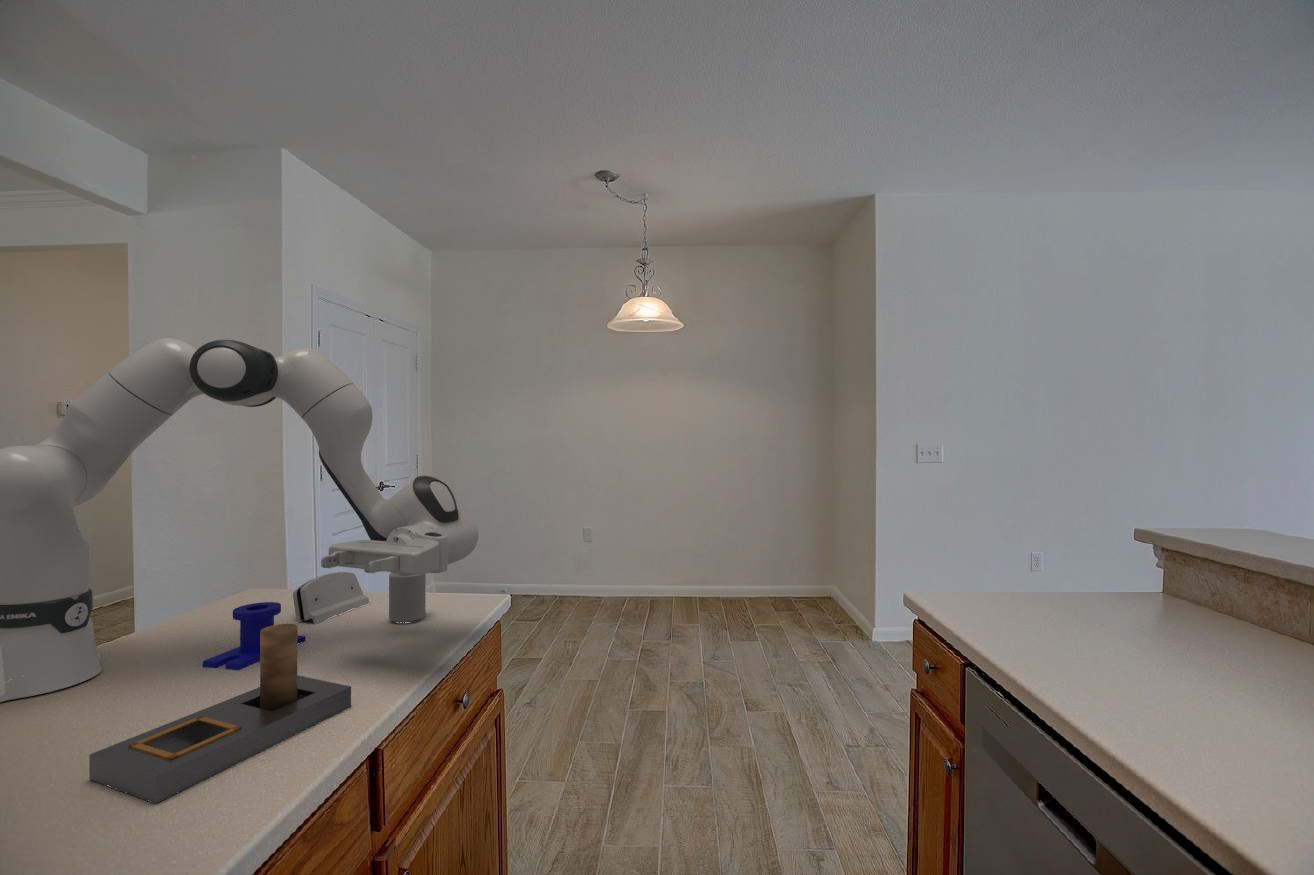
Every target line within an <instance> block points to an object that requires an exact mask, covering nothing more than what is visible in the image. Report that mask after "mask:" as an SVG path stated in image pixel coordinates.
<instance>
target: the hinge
mask: <svg viewBox="0 0 1314 875" xmlns="http://www.w3.org/2000/svg"><path fill="white" fill-rule="evenodd" d="M292 599H293V604H294V611H295V619H296V623H297V622H299V623H301V622H305V621H309V620H310V619H311V620H312V622H313V624H314V623H317V622H320V623H323V622H325V621H324V620H326V619H328V618H330V617H332V616H334V615H339V614H341V613H344V612H346V611H348V610H350V609H352V608H358V607H360V606H362V605H365V604H368V603H370V599H369V597H368V596H367V595H365V594H364V593H363V591H362V587H361V585H360V583H359V581H358V578H357V575H356V574H355V573H353V572H346V571H340V572H339V571H338V572H331V573H326V574H325V573H324V574H323V575H319V576H317V577H314V578H312V579H310V580H308V581H306V582H305V583H303V584H302V585H301V586H299V587H298V588H296V589H295V590H294V591H293V592H292ZM322 621H323V622H322ZM326 621H327V620H326Z"/></svg>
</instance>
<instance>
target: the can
mask: <svg viewBox="0 0 1314 875" xmlns="http://www.w3.org/2000/svg"><path fill="white" fill-rule="evenodd" d="M426 574H427V573H425V574H415V575H414V574H413V575H409V576H401V575H398V574H396V573H395V572H389V575H388V619H389V620H390V621H392V622H393V623H394V622H399V623H400V622H402V623H403V622H404V623H405V622H414V623H417V622H419V621H421V620H422V619H423V618H424V617H425V616H426V593H427V592H426V586H427V585H426V584H427V583H426V578H427V577H426ZM421 618H422V619H421ZM420 619H421V620H420ZM418 620H419V621H418ZM416 621H417V622H416Z"/></svg>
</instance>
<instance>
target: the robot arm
mask: <svg viewBox="0 0 1314 875" xmlns="http://www.w3.org/2000/svg"><path fill="white" fill-rule="evenodd" d="M200 395H205V396H207V397H209V398H211V399H214V400H216V401H219V402H221V403H225V404H227V405H231V406H238V407H240V406H242V407H246V408H247V407H248V408H257V407H261V406H265V405H268V404H269V403H271V402H273V401H275V399H277V398H278V399H281V400H282V401H284V402H285V403H286V404H287V405H288V406H290V407H291V408H292V409H293V410H294V411H295V412H296V414H297V415H298V416H299V417H300V418H301V419H302V420H303V421H304V422H305V424H307V426H308V428H309V430H310V431H311V433H312V434H313V436H314V438H315V441H316V444H317V446H318V456H319V460H320V461H321V464H322V465H323V467H324V469H325V471H326V472H327V474H328V475H329V477H330V478H331V479H332V481H333V482H334V484H335V485H336V487H337V488H338V490H339V491H340V493H341V494H342V495H343V497H344V499H346V501H347V503H349V505H350V506H351V508H352V510H353V511H354V512H355V514H356V515H357V517H358V518H359V520H360V521H361V524H362V526H363V528H364V530H365V532H366V535H367V536H368V538H369V539H359V540H351V541H350V540H349V541H345V542H339V543H338V542H337V543H334V544H331V545H329V547H328V554H327V555H326V556H322V557H321V559H320V567H321V568H324V569H332V568H336V567H341V568H350V569H352V568H353V569H360V570H361V569H362V570H363V571H364V573H369V574H375V573H379V572H388V573H391V572H395V573H396V574H398V575H401V576H409V575H413V574H414V575H415V574H425V573H426V574H440V573H444V572H447V571H448V565H451V564H453V563H456V562H459V561H460V560H463V559H465V558H467V557H468V556H470V554H472V553H473V551H474V550H475V548H476V546H477V544H478V540H479V529H478V526H477V524H475V522H474V521H473V520H472V519H471V518H469V517H467V516H466V515H464V514H463V513H462V512H461V511H460V510H459V509H458V505H457V501H456V498H455V496H454V494H453V491H452V490H451V488H450V487H449V486H448V484H446V483H445V482H443V481H442V480H440V479H438V478H437V477H434V476H430V475H429V476H428V475H420V476H419V475H418V476H416V477H415V478H414V479H413V480H411V481H409V483H407V484H406V485H404V486H403V487H402V488H401V489H400V490H399V491H398V492H396V493H395V494H394V495H392V496H391V497H390V498H388V499H387V498H384V497H383V495H382V494H381V492H380V491H379V489H378V488H377V486H376V485H375V483H374V482H373V480H372V479H371V477H370V476H369V475H368V474H367V472H366V470H365V469H364V466H363V463H362V451H363V447H364V445H365V442H366V440H367V439H368V436H369V433H370V432H371V429H372V425H373V424H372V423H373V408H372V406H371V404H370V402H369V400H368V399H367V397H366V396H365V394H364V393H363V392H362V391H361V390H360V389H359V388H358V386H356V385H355V384H354V382H353V381H352V380H351V379H350V378H349V376H347V375H346V374H345V373H344V372H343V371H342V370H341V369H340V368H339V367H338V366H337V365H335V363H334V362H332V361H331V360H330V359H329V358H327V356H325V355H323V354H322V353H321V352H320V351H318V350H316V349H314V348H310V347H300V348H299V347H298V348H295V349H291V350H290V351H289V350H288V352H286V353H284V354H282V355H281V356H278V357H277V356H275V357H274V355H273V354H272V353H271V352H269V351H267V350H264V349H261V348H259V347H256V346H253V345H251V344H248V343H245V342H242V341H238V340H234V339H233V340H232V339H217V340H212V341H209V342H207V343H205V344H202V345H201V346H200V347H199V348H196V347H195V346H194V345H191V343H190V344H189V343H188V342H185V341H183V340H181V339H177V338H173V337H162V338H158V339H156V340H153V341H152V342H149V343H148V344H146V345H144V346H143V347H141V348H139V349H138V350H136V351H134V352H133V353H131V354H129V355H128V356H127V357H125V358H124V359H122V360H121V361H120V362H119V363H117V364H116V365H114V366H113V367H112V368H110V370H108V371H107V372H106V373H105V374H103V375H102V376H101V377H100V378H99V379H97V380H96V381H95V382H94V383H93V384H92V385H90V386H89V387H88V388H86V389H85V391H83V392H82V393H80V395H78V396H77V397H76V398H75V399H73V400H72V401H71V402H70V403H69V404H68V406H67V407H66V410H65V412H66V413H65V415H64V416H63V417H62V419H61V421H60V422H59V423H58V425H57V426H55V428H54V430H53V431H52V432H51V433H50V435H48V436H47V437H46V438H45V439H43V440H42V441H41V442H38V443H36V444H34V445H33V444H32V445H11V446H5V447H2V448H0V703H3V702H5V701H9V700H17V699H22V698H23V699H24V698H28V697H32V696H37V695H43V694H47V693H51V692H54V691H58V690H62V689H66V688H69V687H72V686H75V685H77V684H80V683H82V682H86V681H87V680H89V679H92V678H93V677H95V676H97V675H99V674H100V673H101V672H102V671H103V668H102V666H101V661H102V660H101V658H102V657H101V654H98V651H97V650H98V649H97V644H96V638H95V629H94V624H93V619H92V618H91V615H92V614H91V613H92V611H93V609H94V608H93V607H94V606H93V601H94V595H93V590H92V589H91V588H90V582H89V581H90V545H89V543H88V541H87V540H86V538H85V537H83V534H82V533H81V530H80V527H79V524H78V520H77V518H76V514H75V510H74V509H75V507H76V506H79V505H82V504H84V503H86V502H88V501H89V500H91V499H93V498H94V497H96V496H97V495H99V493H101V492H103V490H104V489H105V488H106V486H108V483H109V481H110V480H111V479H112V478H113V477H114V475H115V474H116V473H117V472H118V471H119V469H120V468H121V467H122V466H123V464H124V463H125V462H126V461H127V459H128V458H129V457H130V456H131V455H132V453H133V452H134V451H135V450H136V449H137V448H138V447H139V446H140V445H141V444H143V442H144V441H145V440H147V439H148V438H149V437H150V436H151V435H152V434H153V433H154V432H156V431H157V429H159V428H160V427H161V426H163V424H164V423H166V422H167V421H168V420H169V419H170V418H171V417H172V416H174V415H175V414H176V413H177V412H179V410H180V409H181V408H183V406H185V404H187V403H189V402H190V400H192V399H194V398H196V397H198V396H200ZM23 675H24V676H23ZM21 676H22V677H21ZM10 679H13V680H10ZM8 680H9V681H8ZM7 681H8V682H7ZM3 682H6V683H3Z"/></svg>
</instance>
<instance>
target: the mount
mask: <svg viewBox="0 0 1314 875" xmlns="http://www.w3.org/2000/svg"><path fill="white" fill-rule="evenodd" d="M281 612H282V604H281V603H279V602H278V601H277V602H276V601H275V602H274V601H266V602H265V601H264V602H254V603H250V604H249V603H248V604H244V605H241V606H238V607H236V608H234V609H232V619H233V620H235V621H239V646H238V647H235V648H233V649H232V648H231V649H229V650H227V651H225V652H222V653H218V654H217V655H214V656H212V657H210V658H207V659H205V660H202V668H206V669H207V668H209V669H217V668H220V667H222V666H224V667H225V670H229V671H240V670H243V669H245V668H247V667H250V666H251V665H254V664H256V663H260V631H261V630H262V629H264V628H266V627H269V626H273V625H275V616H278V615H279V614H280V613H281ZM304 641H305V642H306V635H299V634H297V644H298V643H300V644H302V643H301V642H303V643H305V642H304ZM298 645H299V644H298ZM249 665H250V666H249Z"/></svg>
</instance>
